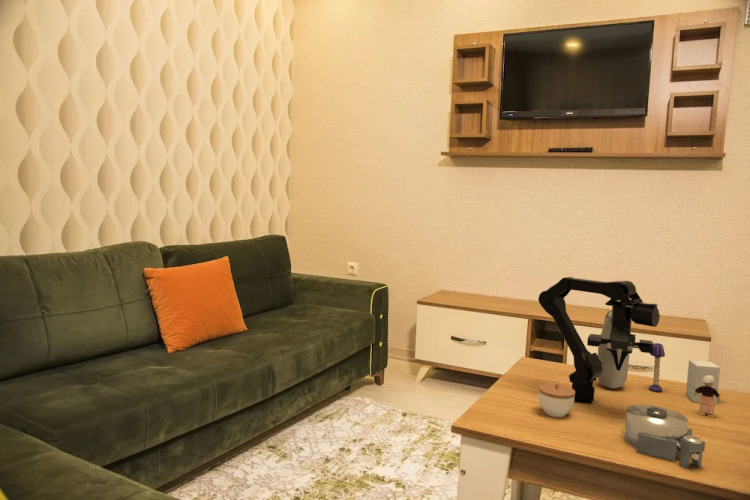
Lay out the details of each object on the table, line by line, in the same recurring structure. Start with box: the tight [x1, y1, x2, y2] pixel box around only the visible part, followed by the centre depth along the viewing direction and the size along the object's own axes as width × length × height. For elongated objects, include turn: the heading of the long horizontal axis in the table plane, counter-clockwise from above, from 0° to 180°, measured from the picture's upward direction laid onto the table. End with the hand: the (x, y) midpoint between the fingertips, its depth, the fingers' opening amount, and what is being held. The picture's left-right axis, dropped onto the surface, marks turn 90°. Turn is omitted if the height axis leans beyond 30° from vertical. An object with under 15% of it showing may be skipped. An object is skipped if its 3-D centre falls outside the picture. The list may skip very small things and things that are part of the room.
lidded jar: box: [538, 382, 575, 418], centre depth 170 cm, size 11×11×9 cm
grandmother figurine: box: [693, 375, 723, 418], centre depth 173 cm, size 8×4×13 cm, turn 65°
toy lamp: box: [648, 342, 666, 393], centre depth 194 cm, size 5×5×17 cm
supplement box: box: [685, 359, 721, 405], centre depth 186 cm, size 7×7×13 cm
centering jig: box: [636, 427, 706, 469], centre depth 142 cm, size 12×17×7 cm
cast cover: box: [623, 404, 689, 456], centre depth 151 cm, size 15×15×9 cm
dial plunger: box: [676, 441, 700, 461], centre depth 140 cm, size 7×2×2 cm, turn 14°
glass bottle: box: [597, 309, 631, 390], centre depth 195 cm, size 10×10×28 cm
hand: (618, 370), depth 173 cm, fingers closed
